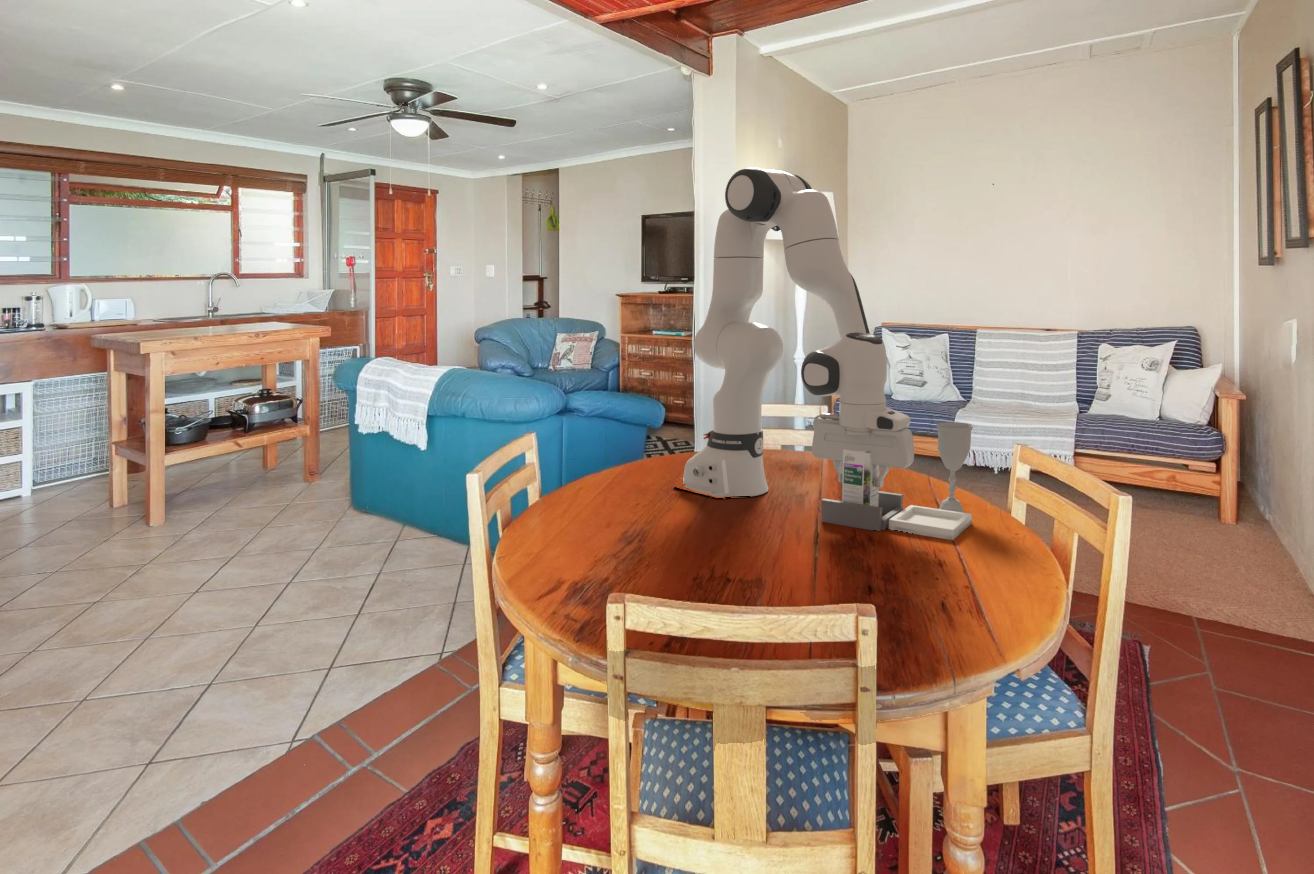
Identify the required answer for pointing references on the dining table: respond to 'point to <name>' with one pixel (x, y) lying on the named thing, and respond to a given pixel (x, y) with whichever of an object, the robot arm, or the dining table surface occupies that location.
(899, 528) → the tray
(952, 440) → the chalice
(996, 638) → the dining table surface
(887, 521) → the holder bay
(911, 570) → the dining table surface
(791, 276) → the robot arm
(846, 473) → the syrup box
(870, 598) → the dining table surface
